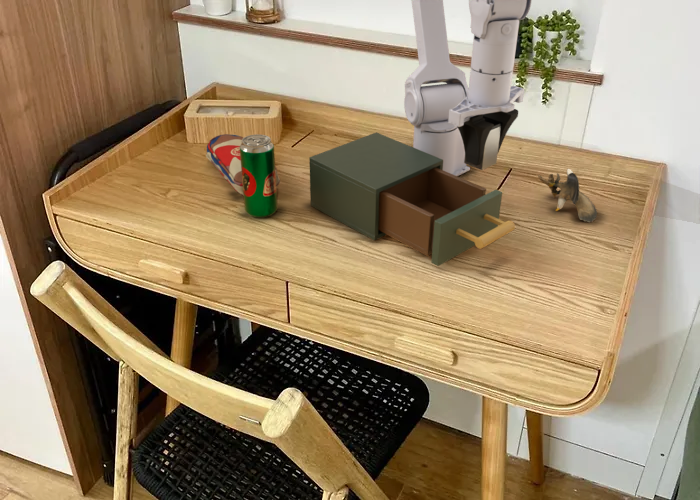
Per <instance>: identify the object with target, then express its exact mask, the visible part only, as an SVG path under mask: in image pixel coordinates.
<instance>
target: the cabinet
mask: <svg viewBox="0 0 700 500" xmlns="http://www.w3.org/2000/svg"><path fill="white" fill-rule="evenodd" d="M308 158H309V159H308V161H309V194H310V195H309V196H310V197H309V199H310V207H312V208H314V209H315V210H318V211H319V212H322V213H323V214H325V215H327V216H329V217H331V218H332V219H333V220H336V221H338V222H340V223H342V224H343V225H345V226H347V227H348V228H351V229H353V230H354V231H356V232H358V233H360V234H361V235H364V236H366V237H367V238H369V239H370V240H373V241H377V240H379V239H381V238H383V237H385V236H388V235H387V234H385V233H383V232H381V231H379V230H378V220H379V192H381V191H383V190H385V189H388V188H390V187H392V186H394V185H397V184H399V183H401V182H403V181H406V180H408V179H410V178H412V177H415V176H417V175H419V174H421V173H424V172H426V171H428V170H430V169H433V168H435V167H436V168H439V169H441V170H443V160H442V159H440V158H438V157H435V156H433V155H430V154H428V153H425V152H423V151H421V150H418V149H416V148H413V146H411V145H408V144H406V143H403V142H401V141H398V140H397V139H394V138H391V137H389V136H386V135H384V134H381V133H379V132H373V133H371V134H368V135H365V136H362V137H360V138H357V139H355V140H352V141H349V142H347V143H344V144H341V145H339V146H336V147H333V148H330V149H328V150H326V151H323V152H319V153H317V154H314V155H312V156H309V157H308Z"/></svg>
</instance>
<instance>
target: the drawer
mask: <svg viewBox="0 0 700 500" xmlns="http://www.w3.org/2000/svg"><path fill="white" fill-rule="evenodd" d="M502 197H503V191H500V190H498V189H494V190H492V191H490V192H488V193H487V188H486V187H483V186H481V185H479V184H476V183H474V182H471V181H469V180H467V179H464V178H462V177H459V176H455V175H453V174H450V173H448V172H446V171H443V170H441V169H439V168H436V167H435V168H433V169H430V170H428V171H426V172H424V173H421V174H419V175H417V176H415V177H412V178H410V179H408V180H406V181H403V182H401V183H399V184H397V185H394V186H392V187H390V188H388V189H385V190H383V191H381V192H379V220H378V230H379V231H381V232H383V233H385V234H387V235H386V236H389V237H390V238H392V239H395V240H396V241H398V242H400V243H402V244H403V245H405V246H407V247H409V248H411V249H413V250H414V251H417V252H419V253H421V254H423V255H425V256H426V257H428V256H430V255H431V262H430V263H431V264H432V265H435V266H436V267H440V266H442V265H443V264H445V263H447V262H448V261H450V260H451V259H453V258H455V257H458V255H460V254H462V253H464V252H466V251H468V250H469V249H471V248H473V247H474V246H475V247H476V248H477V249H480V250H482V249H484V248H485V247H487V246H489V245H490V244H492V243H494V242H496V241H497V240H499V239H501V238H502V237H505V236H507V234H509V233H512V231H514V230H515V229H516V225H515V222H513V221H512V220H506V221H504V220H502V219H500V214H501V206H502V199H503V198H502Z"/></svg>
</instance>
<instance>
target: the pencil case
mask: <svg viewBox="0 0 700 500" xmlns="http://www.w3.org/2000/svg"><path fill="white" fill-rule="evenodd" d="M243 138H244V136H241V135H238V134H234V133H233V134H232V133H231V134H230V133H223V134H218V135H216V136H214V137H212V138H211V139H210V140H209V141H208V142H207V145H206V154H205V157H206V159H208V161H209V162H210V163H211V164H212V165H213V166H214V167H215V168H216V170H217V171H218V172H219V173H220V175H221V176H222V178H224V179H225V180H226V181H227V182H228V184H229V185H230V186H231V187H232V188H233V189H234V191H235V192H237V193H238V194H240V195H241V196H243V197H244V194H243V182H242V170H241V159H240V145H241V144H242V139H243ZM275 172H276V188H277V187H278V186H279V185H280V182H281V179H280V177H279V174H278V169H277V167H276V166H275Z"/></svg>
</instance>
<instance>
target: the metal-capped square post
mask: <svg viewBox="0 0 700 500" xmlns="http://www.w3.org/2000/svg"><path fill="white" fill-rule="evenodd" d="M483 118H484V119H485V120H484V121H486V122H489V123H492V124H494V126H493V127H492V129H491V131H490V133H489V135H488V137H487V140H486V143H485V147H484V152H483V157H482V160H481V163H480V164H479V165H474V164H471V163H469V162H467V161H466V155H465V159H464V163H465V164H466V166H469V167H473V168H475V169H478V170H480V171H484V170H486V169H489V168H491V167H493V166H494V165H496V164H497V161H498V155H499V152H498V146H499V138H500V130H501V126H502V122H499V121H497V120H494V119H491V118H488V117H485V116H483ZM497 154H498V155H497Z"/></svg>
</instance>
